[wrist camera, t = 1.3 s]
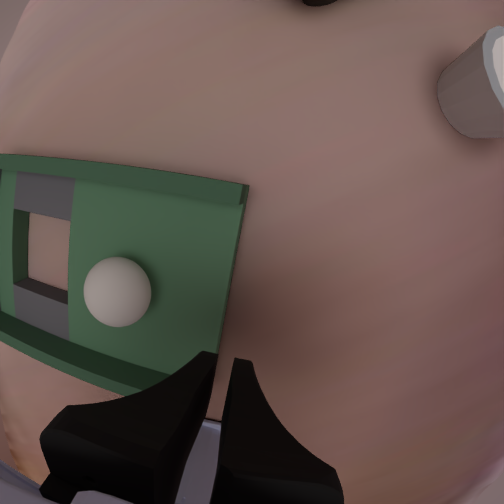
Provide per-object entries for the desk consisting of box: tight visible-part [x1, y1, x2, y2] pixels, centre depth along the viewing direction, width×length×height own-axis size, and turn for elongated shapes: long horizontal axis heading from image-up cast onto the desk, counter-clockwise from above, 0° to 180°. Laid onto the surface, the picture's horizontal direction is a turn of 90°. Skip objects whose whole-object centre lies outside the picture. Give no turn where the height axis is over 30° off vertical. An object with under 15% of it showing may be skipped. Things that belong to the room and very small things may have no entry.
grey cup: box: [437, 26, 504, 138], centre depth 13 cm, size 7×7×7 cm
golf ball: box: [84, 257, 151, 327], centre depth 17 cm, size 4×4×4 cm
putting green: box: [0, 154, 249, 396], centre depth 16 cm, size 16×20×10 cm
